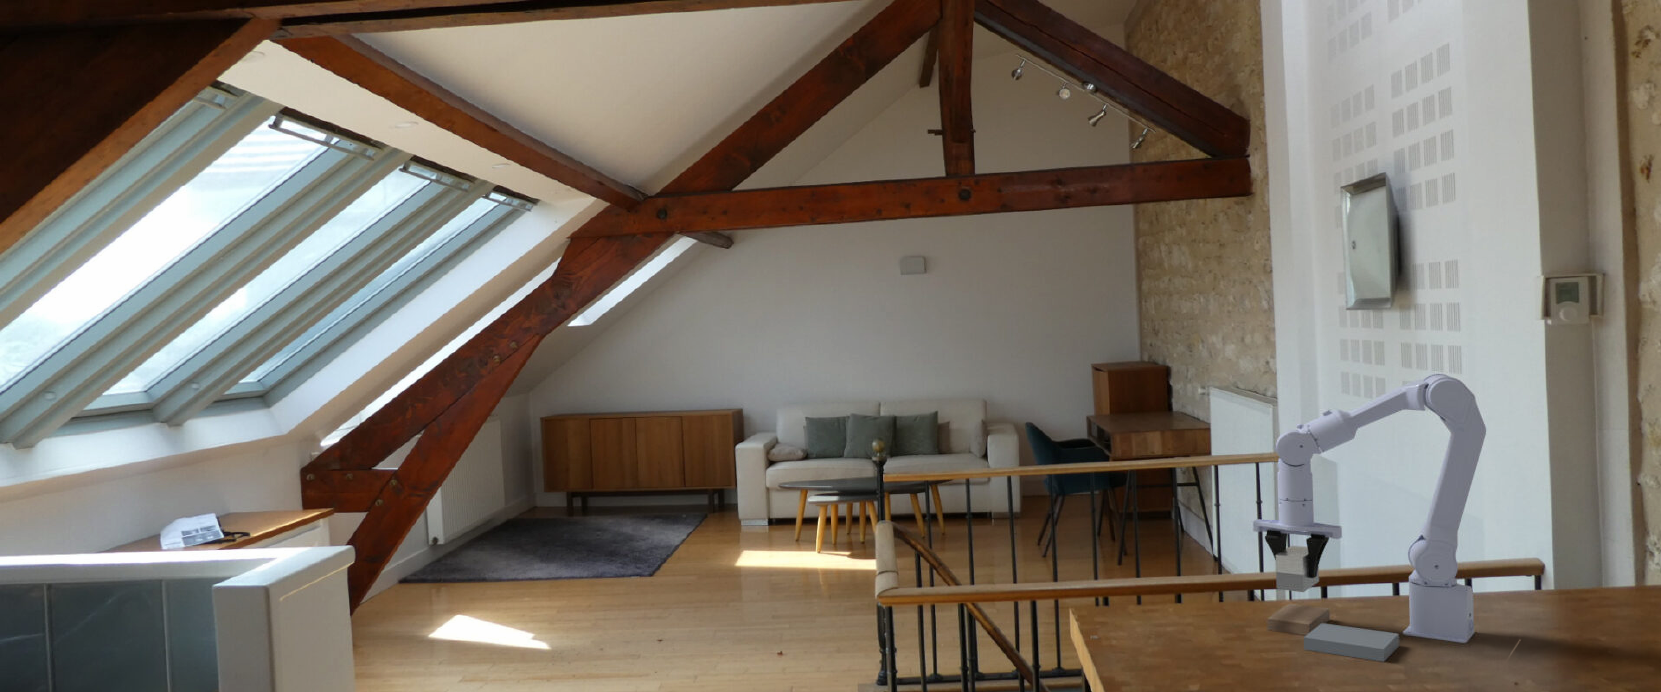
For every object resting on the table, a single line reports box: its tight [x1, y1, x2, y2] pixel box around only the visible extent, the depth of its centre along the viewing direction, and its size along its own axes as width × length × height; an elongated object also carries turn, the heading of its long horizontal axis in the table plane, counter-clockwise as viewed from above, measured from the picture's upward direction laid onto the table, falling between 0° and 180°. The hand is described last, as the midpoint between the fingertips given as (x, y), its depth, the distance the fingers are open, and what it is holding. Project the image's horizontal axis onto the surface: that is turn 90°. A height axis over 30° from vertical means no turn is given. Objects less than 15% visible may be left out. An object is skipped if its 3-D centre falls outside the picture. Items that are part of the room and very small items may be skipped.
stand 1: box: [1266, 603, 1331, 637], centre depth 195 cm, size 7×12×2 cm, turn 140°
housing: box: [1275, 545, 1320, 593], centre depth 194 cm, size 4×9×6 cm, turn 140°
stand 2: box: [1303, 623, 1400, 662], centre depth 181 cm, size 12×10×2 cm
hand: (1297, 575), depth 195 cm, fingers closed on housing, 4 cm apart
